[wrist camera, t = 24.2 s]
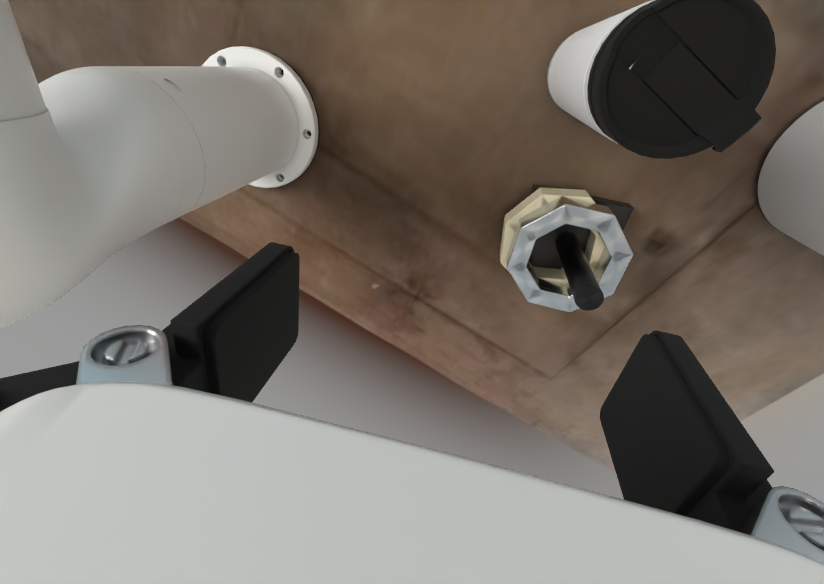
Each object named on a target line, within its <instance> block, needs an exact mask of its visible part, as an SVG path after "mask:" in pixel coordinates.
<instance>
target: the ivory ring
mask: <svg viewBox="0 0 824 584" xmlns="http://www.w3.org/2000/svg"><path fill="white" fill-rule="evenodd" d="M561 196H565V197H569V198H573V199H578V200H582V201H586V202H590V203H595V202H594V200H593V199H592V198H591V196H590V195H589V194H588V193H587V191H586V190H577V189H559V188H541V187H540V188H539V189H537V190H536V191H535V192H534V193H532V194H531V195H530V196H528V197H527V198H526V199H525V200H523V201H522V202H521V203H520V204H518V205H517V206H516V207H514V208H513V209H512V210H511V211H509V212H508V213H507V214H506V215H505V217H504V225H503V233H502V240H501V248H500V263H501V264H502V265H503V266H504V267H505V268H506V269H507V263H506V256H507V253H508V250H509V248H510V245H511V242H512V239H513V236H514V233H515V230H516V227H517V224H518V221H519V219H520V218H522V217H524V216H526V215H527V214H529V213H531V212H533V211H535V210H537V209H539V208H540V207H542V206H544V205H546V204H548V203H550V202H552V201H553V200H555V199H557V198H559V197H561ZM595 204H596V203H595ZM604 248H605V246H604V244H603V242H602V240H601V238H600V236H599V234H598V232H597V231H594V230H590V232H589V237H588V241H587V245H586V249H585V253H584V255H585V257H586V259H587V261H588V263H589V265H590V267H591V269H592V271H594V269H595V266H596V264H597V262H598V260H599V258H600V256H601V254H602V252H603V250H604ZM528 262H529V261H528ZM529 264H530V262H529ZM530 266H531V267H532V269H533V271H534V272H535V274H536V276H537V277H538V278H540V279H544V280H548V281H553V282H557V283H561V284H567V283H568V280H567V277H566V274H565V272H564V269H563V268H562V269H555V268H543V267H533V266H532V265H531V264H530ZM507 271H508V270H507ZM508 272H509V271H508Z"/></svg>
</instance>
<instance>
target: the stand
mask: <svg viewBox="0 0 824 584" xmlns="http://www.w3.org/2000/svg"><path fill="white" fill-rule="evenodd" d="M540 187H541V188H550V187H545V186H540V185H535V184H534V185H533V188H532V191H531V194H532V193H534V192H535V191H536V190H537V189H539V188H540ZM531 194H530V195H531ZM591 198H592V199H593V200H594V202H595V203H596V204H599V205H603V206H608V207H609V209H610V210H611V211H612V212H613V214H614V215H615V216H616V218H617V220H618V223H619V225H620V227H621V229H622V231H623V229H624V227H625V225H626V223H627V221H628V219H629V216H630V214H631V212H632V210H633V207H632V206H631V205H630V204H627V203H622V202H617V201H612V200H607V199H603V198H598V197H593V196H591ZM589 232H590V229H586V228H582V227H577V226H573V225H569V224H565V225H563V226H561V227H559V228H557V229H555V230H553V231H551V232H549V233H547V234H545V235H543V236H541V237H539V238H537V239H536V242H535V244H534V247H533V250H532V253H531V255H530V258H529V262H530V264H531V265H532V266H533V267H543V268H555V269H562V268H563V269H564V272H565V274H566V277H567V280H568V283H569V286H570V289H571V292H572V295H573V298H574V301H575V304H576V305H577V306H578V307H579V308H580V309H582V310H594V309H596V308H598V307H599V306H600V305H601V304H602V302H603V300H604V295H603V292H602V290H601V288H600V286H599V284H598V282H597V280H596V278H595V276H594V273H593V271H592V269H591V267H590V265H589V263H588V261H587V259H586V257H585V255H584V253H585V249H586V245H587V241H588V237H589ZM507 272H508V271H507Z"/></svg>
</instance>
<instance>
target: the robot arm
mask: <svg viewBox="0 0 824 584" xmlns="http://www.w3.org/2000/svg"><path fill="white" fill-rule="evenodd" d="M225 59H226V62H225ZM282 70H283V72H284V75H282V73H281V71H282ZM309 131H310V132H311V135H309V133H308V132H309ZM318 132H319V130H318V119H317V114H316V111H315V107H314V103H313V101H312V99H311V96H310V94H309V92H308V90H307V88H306V87H305V85H304V83H303V82H302V80H301V79H300V77H299V76H298V75H297V74H296V73H295V72H294V71H293V69H292V68H291V67H290V66H288V65H287V64H286V63H285V62H284V61H282V60H281V59H280V58H278V57H276V56H275V55H273V54H271V53H269V52H267V51H264V50H261V49H258V48H254V47H245V46H240V47H229V48H226V49H223V50H220V51H218V52H217V53H215V54H214V55H212V56H210V57H209V59H208V60H207V61H206V62H205V63H204V64H203V65H202V66H90V67H81V68H75V69H71V70H68V71H64V72H61V73H59V74H56V75H54V76H52V77H50V78H48V79H46V80H45V81H43V82H41V83H39V84H38V83H37V80H36V77H35V75H34V72H33V69H32V66H31V63H30V60H29V58H28V55H27V52H26V49H25V46H24V44H23V41H22V38H21V35H20V32H19V30H18V27H17V24H16V21H15V18H14V15H13V13H12V10H11V7H10V4H9V1H8V0H0V328H2V327H5V326H8V325H11V324H13V323H15V322H17V321H20V320H22V319H24V318H26V317H28V316H30V315H32V314H34V313H36V312H37V311H39V310H41V309H43V308H44V307H46V306H48V305H49V304H51V303H52V302H54V301H56V300H57V299H59V298H60V297H62V296H63V295H64V294H66V293H67V292H68V291H70V290H71V289H72V288H74V287H75V286H76V285H77V284H79V283H80V282H81V281H82V280H84V279H85V278H86V277H87V276H88V275H90V274H91V273H92V272H93V271H94V270H95V269H96V268H98V267H99V266H100V265H101V264H102V263H103V262H105V261H106V260H107V259H108V258H110V257H111V256H112V255H113V254H115V253H116V252H117V251H119V250H120V249H122V248H123V247H125V246H126V245H128V244H129V243H131V242H133V241H134V240H136V239H138V238H139V237H141V236H143V235H144V234H146V233H148V232H150V231H152V230H154V229H156V228H158V227H160V226H162V225H164V224H166V223H168V222H170V221H172V220H174V219H176V218H178V217H180V216H182V215H184V214H187V213H189V212H191V211H193V210H196V209H198V208H200V207H202V206H204V205H206V204H208V203H210V202H212V201H214V200H216V199H218V198H220V197H223V196H225V195H227V194H229V193H231V192H233V191H235V190H237V189H239V188H241V187H243V186H245V185H247V184H249V185H252V186H255V187H262V188H273V187H279V186H282V185H285V184H288V183H290V182H291V181H293V180H295V179H296V178H298V177H299V176H300V175H301V174H303V172H304V171H305V170H306V169H307V168H308V166H309V165H310V163H311V161H312V159H313V157H314V155H315V151H316V148H317V144H318ZM282 175H283V176H284V178H283V177H282ZM298 310H299V254H298V253H294V250H293V248H292V247H291V246H286V245H282V244H278V243H273V242H271V243H269V244H267V245H266V246H265V247H264V248H262V249H261V250H260V251H259V252H257V253H256V254H255V255H253V256H252V257H251V258H250V259H248V260H247V261H246V262H245V263H243V264H242V265H241V266H239V267H238V268H237V269H236V270H234V271H233V272H232V273H231V274H229V275H228V276H227V277H225V278H224V279H223V280H222V281H220V282H219V283H218V284H216V285H215V286H214V287H213V288H211V289H210V290H209V291H208V292H206V293H205V294H204V295H203V296H201V297H200V298H199V299H197V300H196V301H195V302H194V303H192V304H191V305H190V306H188V307H187V308H186V309H185V310H183V311H182V312H181V313H180V314H178V315H177V316H176V317H175V318H173V319H172V320H171V324H170V325H169V326H167V327H166V328H165V329H164V330H162V331H161V330H159V329H157V328H154V327H151V326H143V325H133V326H124V327H120V328H115V329H112V330H109V331H107V332H104V333H102V334H100V335H98V336H96V337H95V338H93V339H91V340H90V341H89V342H88V343H87V344H86V345H85V346H84V347H83V350H82V352H81V354H80V360H79V361H78V362H74V363H70V364H65V365H61V366H56V367H51V368H47V369H42V370H37V371H33V372H29V373H23V374H19V375H14V376H10V377H5V378H1V379H0V584H824V503H822V502H821V501H819V500H817V499H815V498H814V497H812V496H810V495H808V494H806V493H804V492H801V491H799V490H796V489H793V488H788V487H783V486H780V487H774V488H772V487H771V485H770V484H769V482H768V481H767V478H768V477H769V476H770V475H771V474H772V473H773V472H774V470H773V469H772V467H771V466H770V465H769V463H768V462H767V460H766V459H765V457H764V456H763V454H762V453H761V451H760V450H759V448H758V447H757V446H756V444H755V443H754V441H753V440H752V438H751V437H750V436H749V434H748V433H747V431H746V430H745V428H744V427H743V425H742V424H741V422H740V421H739V420H738V418H737V417H736V415H735V414H734V412H733V411H732V409H731V408H730V406H729V405H728V404H727V402H726V401H725V399H724V398H723V396H722V395H721V393H720V392H719V391H718V389H717V388H716V386H715V385H714V383H713V382H712V380H711V379H710V378H709V376H708V375H707V373H706V372H705V370H704V369H703V367H702V366H701V364H700V363H699V362H698V360H697V359H696V357H695V356H694V354H693V353H692V351H691V350H690V349H689V347H688V346H687V344H686V343H685V341H684V340H683V338H681V337H680V336H678V335H673V334H669V333H665V332H660V331H653V332H652V333H650V335H649V334H645V335H644V336H642V338H641V339H640V341H639V343H638V344H637V346H636V348H635V350H634V351H633V353H632V355H631V357H630V358H629V360H628V362H627V364H626V365H625V367H624V369H623V371H622V372H621V374H620V376H619V377H618V379H617V381H616V383H615V384H614V386H613V388H612V390H611V391H610V393H609V395H608V397H607V398H606V400H605V402H604V404H603V405H602V408H601V411H600V420H601V424H602V427H603V430H604V434H605V437H606V440H607V444H608V447H609V450H610V454H611V457H612V461H613V464H614V467H615V471H616V474H617V477H618V480H619V484H620V487H621V490H622V494H623V497H624V500H623V499H619V498H615V497H611V496H608V495H604V494H600V493H597V492H593V491H589V490H585V489H582V488H578V487H574V486H570V485H567V484H563V483H559V482H555V481H552V480H548V479H544V478H540V477H537V476H533V475H529V474H526V473H522V472H518V471H514V470H510V469H506V468H502V467H499V466H495V465H491V464H487V463H484V462H480V461H476V460H472V459H468V458H465V457H461V456H457V455H453V454H449V453H446V452H441V451H438V450H434V449H430V448H426V447H422V446H419V445H415V444H411V443H407V442H403V441H399V440H395V439H392V438H388V437H384V436H380V435H376V434H372V433H368V432H364V431H360V430H356V429H353V428H349V427H345V426H341V425H337V424H333V423H329V422H325V421H321V420H317V419H314V418H310V417H305V416H302V415H298V414H294V413H290V412H286V411H282V410H278V409H274V408H270V407H266V406H263V405H259V404H255V403H252V402H253V400H254V399H255V398H256V396H257V395H258V393H259V392H260V390H261V389H262V388H263V387H264V385H265V384H266V382H267V381H268V380H269V378H270V377H271V375H272V374H273V373H274V371H275V370H276V369H277V367H278V366H279V364H280V363H281V362H282V360H283V359H284V357H285V356H286V355H287V353H288V352H289V351H290V349H291V348H292V346H293V345H294V343H295V342H296V339H297V336H298V316H299V315H298V314H299V313H298V312H299V311H298Z"/></svg>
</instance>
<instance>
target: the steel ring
mask: <svg viewBox="0 0 824 584" xmlns="http://www.w3.org/2000/svg"><path fill="white" fill-rule="evenodd" d="M565 224H569V225H573V226H577V227H582V228H586V229H590V230H594V231H597V232H598V234H599V236H600V238H601V240H602V242H603V244H604V246H605V248H604V250H603V252H602V254H601V256H600V258H599V260H598V262H597V264H596V266H595V269H594V271H593V273H594V276H595V278H596V280H597V282H598V284H599V286H600V288H601V290H602V292H603V295H604V298H606V297H608V296H611V295H613V293H614V291H615V289H616V287H617V286H618V284H619V282H620V280H621V278H622V276H623V274H624V272H625V270H626V268H627V266H628V264H629V263H630V261H631V259H632V257H633V255H634V254H633V252H632V250H631V248H630V246H629V244H628V241H627V239H626V237H625V235H624V233H623V231H622V229H621V227H620V225H619V223H618V220H617V218H616V216H615V215H614V214H613V212H612V211H611V210H610V209H609V207H608V206H603V205H599V204H595V203H590V202H586V201H582V200H578V199H573V198H569V197H565V196H561V197H559V198H557V199H555V200H553V201H552V202H550V203H548V204H546V205H544V206H542V207H540V208H539V209H537V210H535V211H533V212H531V213H529V214H527V215H526V216H524V217H522V218H520V219H519V221H518V224H517V227H516V230H515V233H514V236H513V239H512V242H511V245H510V248H509V250H508V253H507V256H506V263H507V270H508V271H509V273H510V275H511V276H512V278H513V279H514V281H515V283H516V284H517V286H518V288H519V289H520V291H521V292H522V294H523V296H524V297H525V299H526V301H527V302H530V303H534V304H538V305H542V306H546V307H550V308H554V309H558V310H562V311H566V312H572V311H574V310H577V309H579V307H578V306H577V305H576V304H575V301H574V298H573V295H572V292H571V289H570V286H569V283H567V284H561V283H557V282H553V281H548V280H544V279H540V278H538V277H537V276H536V274H535V272H534V271H533V269H532V267H531V266H530V264H529V262H528V261H529V258H530V255H531V253H532V250H533V247H534V244H535V242H536V239H537V238H539V237H541V236H543V235H545V234H547V233H549V232H551V231H553V230H555V229H557V228H559V227H561V226H563V225H565Z"/></svg>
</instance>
